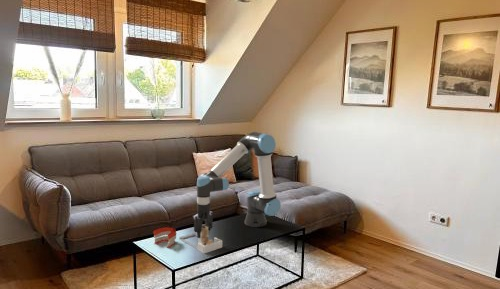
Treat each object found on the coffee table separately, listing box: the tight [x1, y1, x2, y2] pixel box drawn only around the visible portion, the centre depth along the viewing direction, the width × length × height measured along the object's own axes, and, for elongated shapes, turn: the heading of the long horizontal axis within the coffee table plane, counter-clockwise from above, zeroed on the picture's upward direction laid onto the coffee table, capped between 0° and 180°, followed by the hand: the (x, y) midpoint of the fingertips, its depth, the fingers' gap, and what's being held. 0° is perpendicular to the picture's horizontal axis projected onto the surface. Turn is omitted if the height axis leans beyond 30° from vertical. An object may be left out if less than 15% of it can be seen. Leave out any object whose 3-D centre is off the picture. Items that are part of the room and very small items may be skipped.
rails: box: [178, 232, 197, 249], centre depth 220 cm, size 12×20×1 cm, turn 44°
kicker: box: [200, 223, 214, 246], centre depth 214 cm, size 8×6×12 cm
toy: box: [153, 226, 177, 249], centre depth 217 cm, size 12×10×8 cm
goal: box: [196, 237, 223, 254], centre depth 210 cm, size 13×6×4 cm, turn 134°
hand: (203, 241), depth 215 cm, fingers closed on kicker, 4 cm apart
